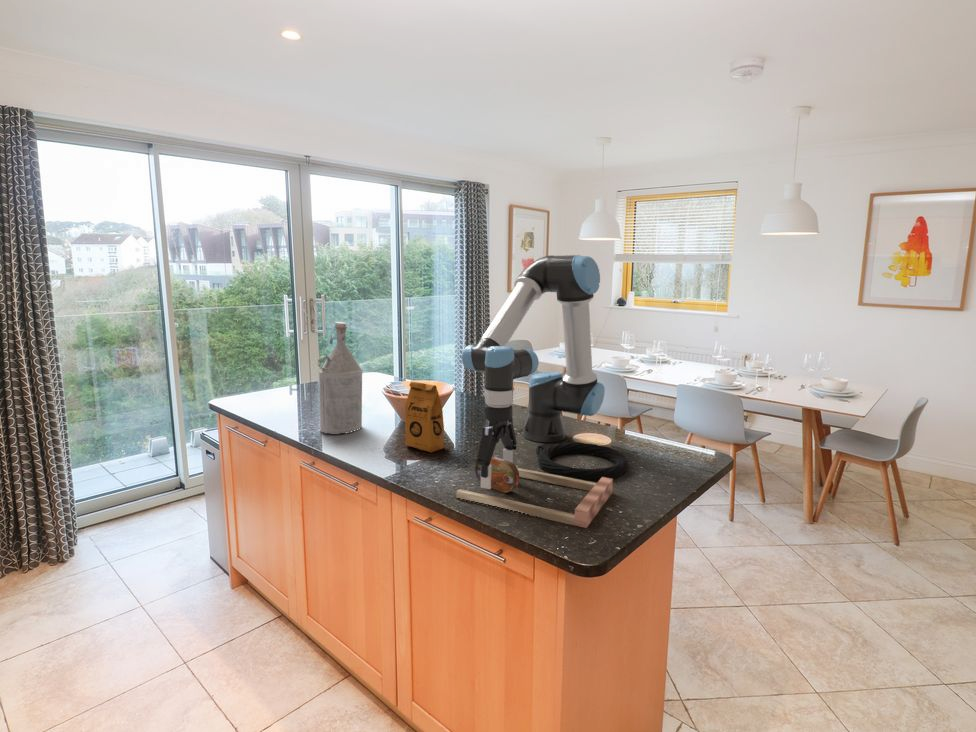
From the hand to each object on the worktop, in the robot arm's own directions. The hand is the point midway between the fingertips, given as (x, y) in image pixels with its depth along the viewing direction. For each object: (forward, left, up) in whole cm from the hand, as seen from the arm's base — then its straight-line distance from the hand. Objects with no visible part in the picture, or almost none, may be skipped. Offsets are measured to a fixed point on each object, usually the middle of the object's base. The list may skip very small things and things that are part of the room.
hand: (497, 479), depth 152 cm
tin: (0, 0, -2) cm, 2 cm away
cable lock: (-29, +14, -3) cm, 32 cm away
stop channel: (0, +11, -2) cm, 12 cm away
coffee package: (-19, -36, -2) cm, 41 cm away
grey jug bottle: (-21, -74, -2) cm, 77 cm away
